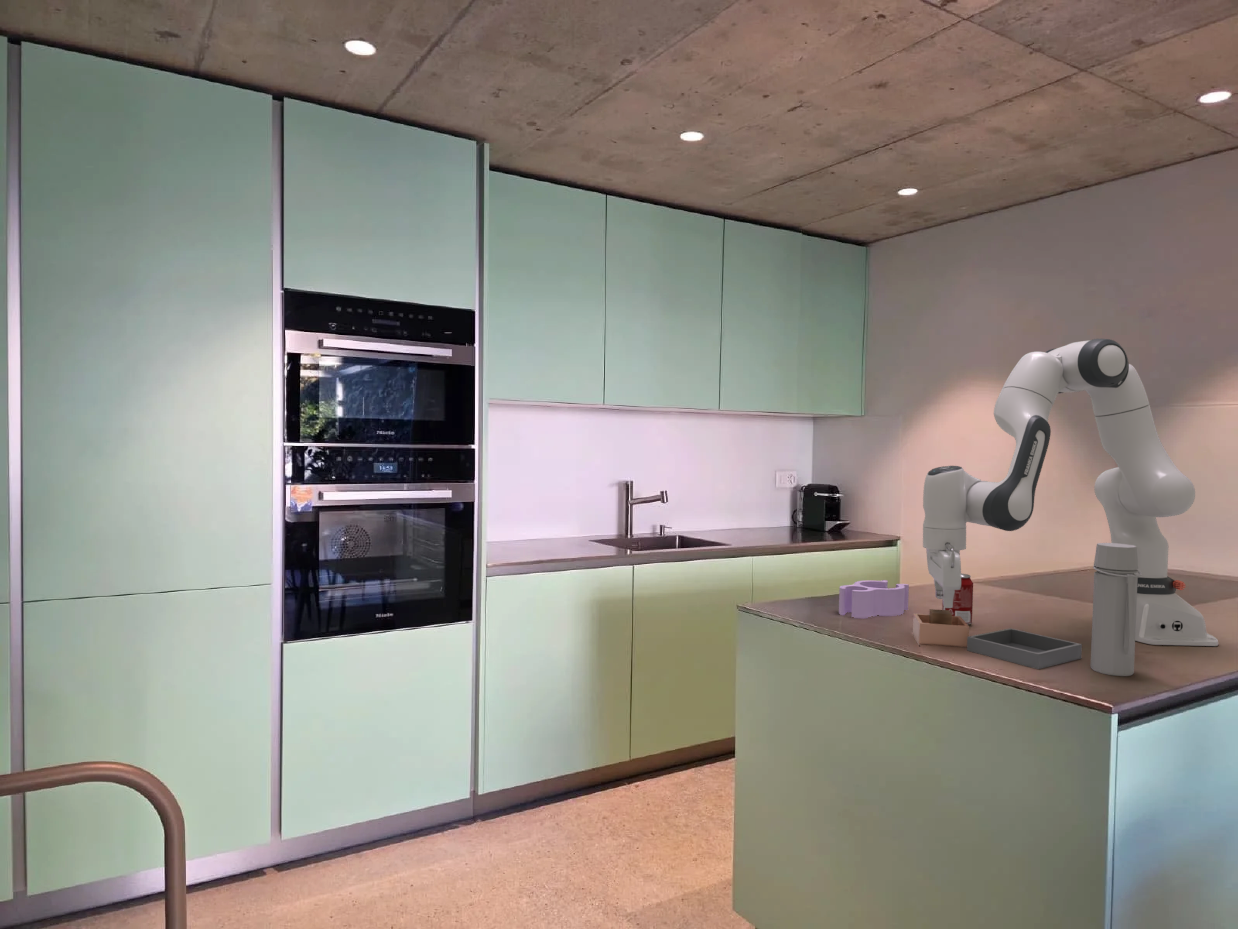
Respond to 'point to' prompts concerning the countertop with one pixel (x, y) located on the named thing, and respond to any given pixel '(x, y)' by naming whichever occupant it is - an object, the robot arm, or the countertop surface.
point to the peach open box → (940, 631)
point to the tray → (1024, 648)
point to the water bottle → (1114, 609)
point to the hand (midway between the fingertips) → (943, 602)
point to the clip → (873, 599)
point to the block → (940, 617)
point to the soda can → (963, 600)
